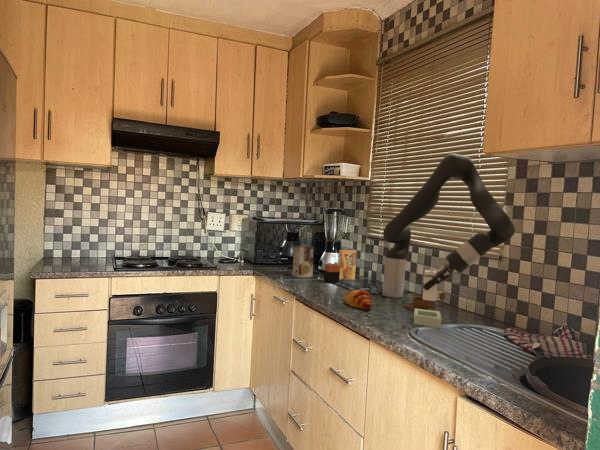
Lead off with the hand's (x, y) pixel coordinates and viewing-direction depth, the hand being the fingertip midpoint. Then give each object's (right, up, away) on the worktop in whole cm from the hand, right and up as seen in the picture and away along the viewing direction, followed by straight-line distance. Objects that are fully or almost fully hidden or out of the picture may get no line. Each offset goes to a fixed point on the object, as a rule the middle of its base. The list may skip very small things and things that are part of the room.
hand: (424, 287), depth 159 cm
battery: (-29, -7, +65) cm, 71 cm away
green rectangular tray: (+1, -12, 0) cm, 13 cm away
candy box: (-20, -7, +78) cm, 81 cm away
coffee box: (-44, -5, +76) cm, 87 cm away
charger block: (+2, -4, 0) cm, 5 cm away
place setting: (+8, -13, +21) cm, 26 cm away
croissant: (-21, -10, +19) cm, 30 cm away
